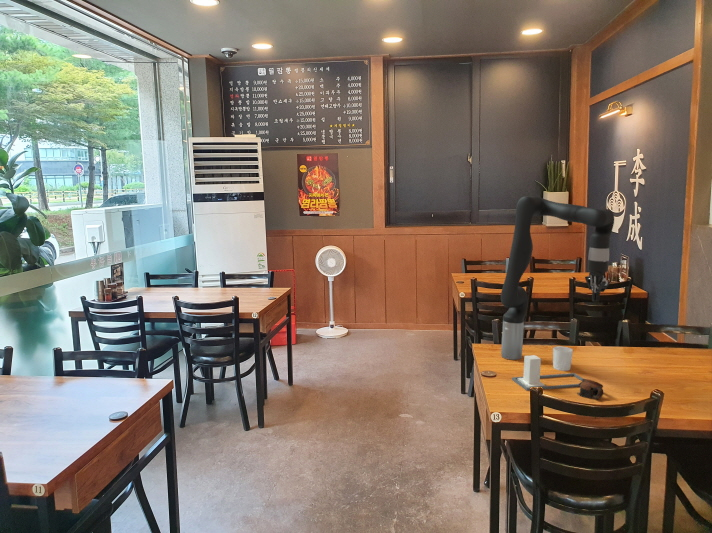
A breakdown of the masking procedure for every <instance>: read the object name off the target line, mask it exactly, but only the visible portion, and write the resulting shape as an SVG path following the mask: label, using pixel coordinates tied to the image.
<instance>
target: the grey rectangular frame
mask: <svg viewBox="0 0 712 533" xmlns="http://www.w3.org/2000/svg"><path fill="white" fill-rule="evenodd" d="M564 377H565V378H567V377H573V378H574V377H575V378H576V379H578V380H580V381H581V382H582V381H583V380H582V379H584V378H583V377H581V376H580V375H579V374H577V373H575V372H571V373H569V372H568V373H555V374H540V379H550V378H551V379H553V378H564ZM518 378H523V376H514V377H513V376H511V380H512V382H514V383H515V384H517V385H518V386H519V387H521V388H522V389H524V390H525V391H527V392H528V391H529V390H530V388H531V387H526V386H525V385H523V384H522V383H521V382H519V381H518ZM578 384H579V383H571V384H570V383H569V384H557V385H545V386H541V387H542V388H543V391H545V390H554V389H557V390H558V389H566V388H567V389H570V388H581V387H580V385H578ZM530 391H531V390H530Z"/></svg>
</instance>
